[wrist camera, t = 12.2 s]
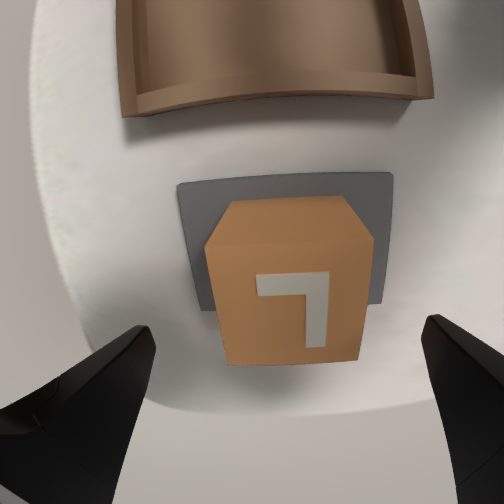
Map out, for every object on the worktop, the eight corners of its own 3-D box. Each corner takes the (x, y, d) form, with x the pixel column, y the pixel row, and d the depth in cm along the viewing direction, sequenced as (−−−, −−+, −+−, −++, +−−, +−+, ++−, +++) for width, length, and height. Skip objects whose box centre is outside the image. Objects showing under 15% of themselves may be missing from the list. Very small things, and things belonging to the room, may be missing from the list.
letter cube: (341, 195, 12) (375, 240, 8) (339, 290, 15) (358, 362, 10) (231, 201, 13) (203, 248, 8) (243, 294, 15) (227, 367, 11)
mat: (389, 172, 12) (393, 174, 12) (378, 297, 15) (381, 303, 15) (180, 183, 14) (176, 185, 13) (203, 304, 16) (201, 310, 16)
